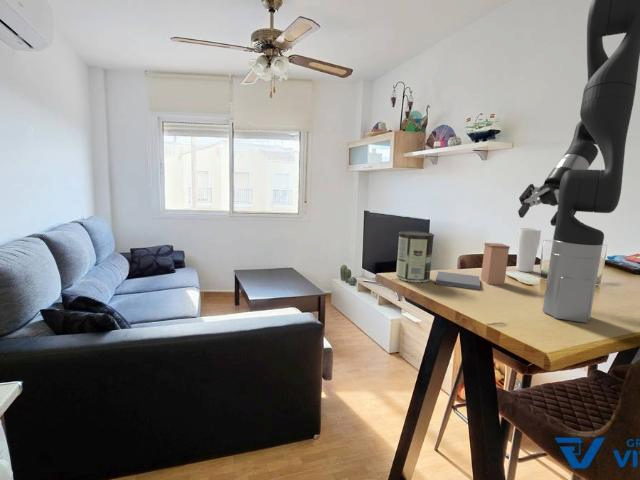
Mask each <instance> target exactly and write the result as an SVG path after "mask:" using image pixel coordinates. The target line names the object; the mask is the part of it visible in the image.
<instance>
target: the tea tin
mask: <svg viewBox="0 0 640 480" xmlns="http://www.w3.org/2000/svg"><path fill="white" fill-rule="evenodd" d="M510 249H511V247H510V246H509V245H507V244H503V243H500V242H499V243H497V242H496V243H495V242H484V248H483V257H482V266H481V274H480V281H482V282H484V283H485V284H487V285H505V282H506V274H507V267H508V261H509V258H508V257H509V251H510Z"/></svg>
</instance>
